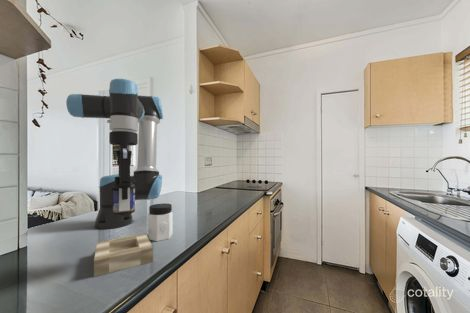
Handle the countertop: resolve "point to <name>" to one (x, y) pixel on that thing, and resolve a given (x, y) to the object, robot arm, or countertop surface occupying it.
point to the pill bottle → (116, 198)
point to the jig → (122, 254)
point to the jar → (160, 222)
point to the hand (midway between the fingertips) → (123, 208)
